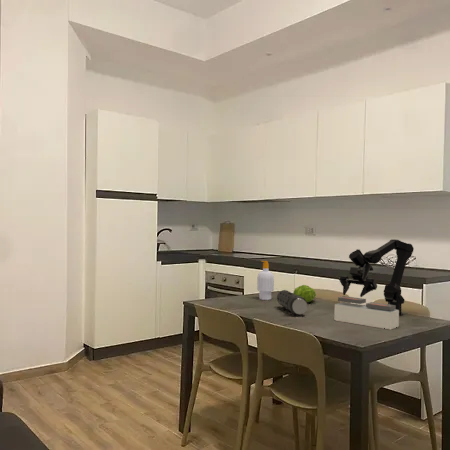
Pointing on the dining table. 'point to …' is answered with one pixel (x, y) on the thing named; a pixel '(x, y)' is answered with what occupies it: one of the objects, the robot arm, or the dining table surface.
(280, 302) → the grey foam roller
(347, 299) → the key
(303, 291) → the lettuce
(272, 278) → the soap bottle
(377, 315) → the switch block
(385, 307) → the key
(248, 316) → the dining table surface
